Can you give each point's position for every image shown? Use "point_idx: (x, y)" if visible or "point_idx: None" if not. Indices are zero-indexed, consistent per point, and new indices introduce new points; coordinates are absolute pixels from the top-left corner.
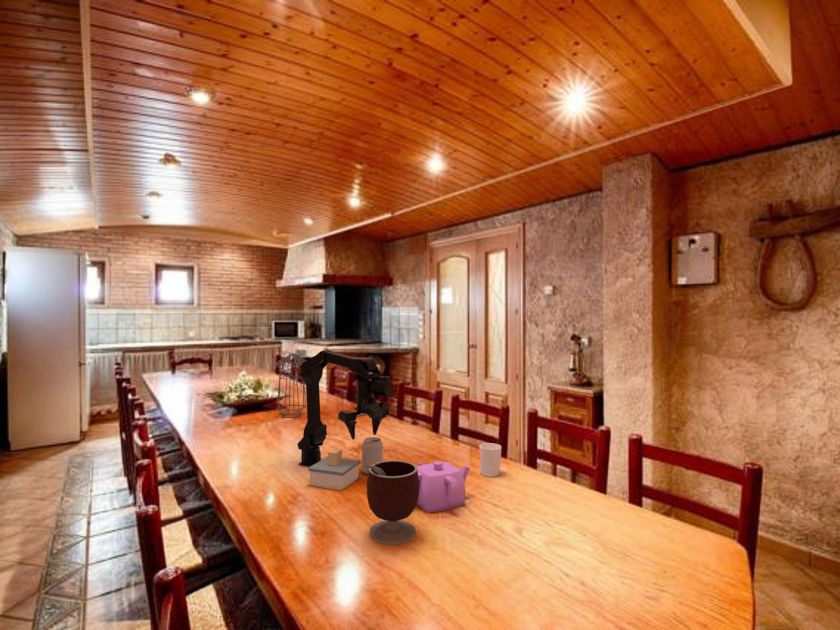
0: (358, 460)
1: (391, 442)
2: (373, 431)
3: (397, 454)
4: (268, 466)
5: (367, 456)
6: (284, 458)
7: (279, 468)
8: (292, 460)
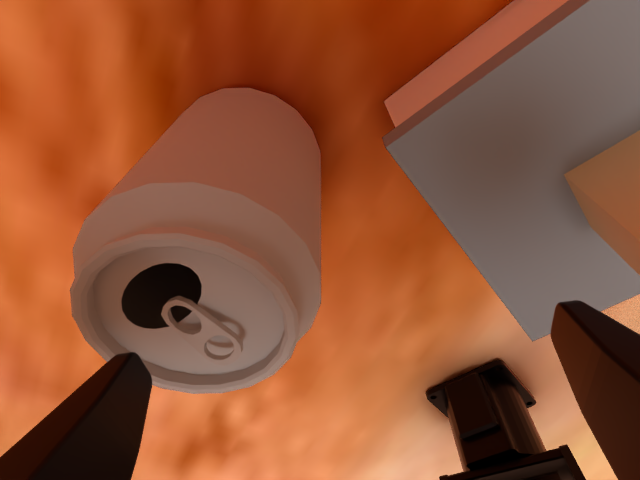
0: (403, 155)
1: None
2: (134, 420)
3: (15, 328)
4: None
5: (299, 174)
6: None
7: None
8: None
